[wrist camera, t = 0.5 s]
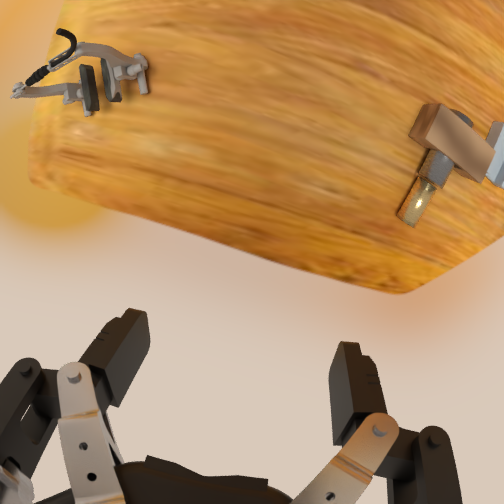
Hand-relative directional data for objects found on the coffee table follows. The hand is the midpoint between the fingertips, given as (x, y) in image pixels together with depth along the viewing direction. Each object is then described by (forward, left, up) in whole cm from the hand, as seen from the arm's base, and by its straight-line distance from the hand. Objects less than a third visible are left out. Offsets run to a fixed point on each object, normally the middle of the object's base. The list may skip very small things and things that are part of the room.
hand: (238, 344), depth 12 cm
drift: (-8, +17, -29) cm, 35 cm away
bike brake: (-5, -26, -29) cm, 39 cm away
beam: (-17, +17, -29) cm, 38 cm away
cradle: (-21, +26, -29) cm, 44 cm away
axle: (-16, +17, -29) cm, 37 cm away
